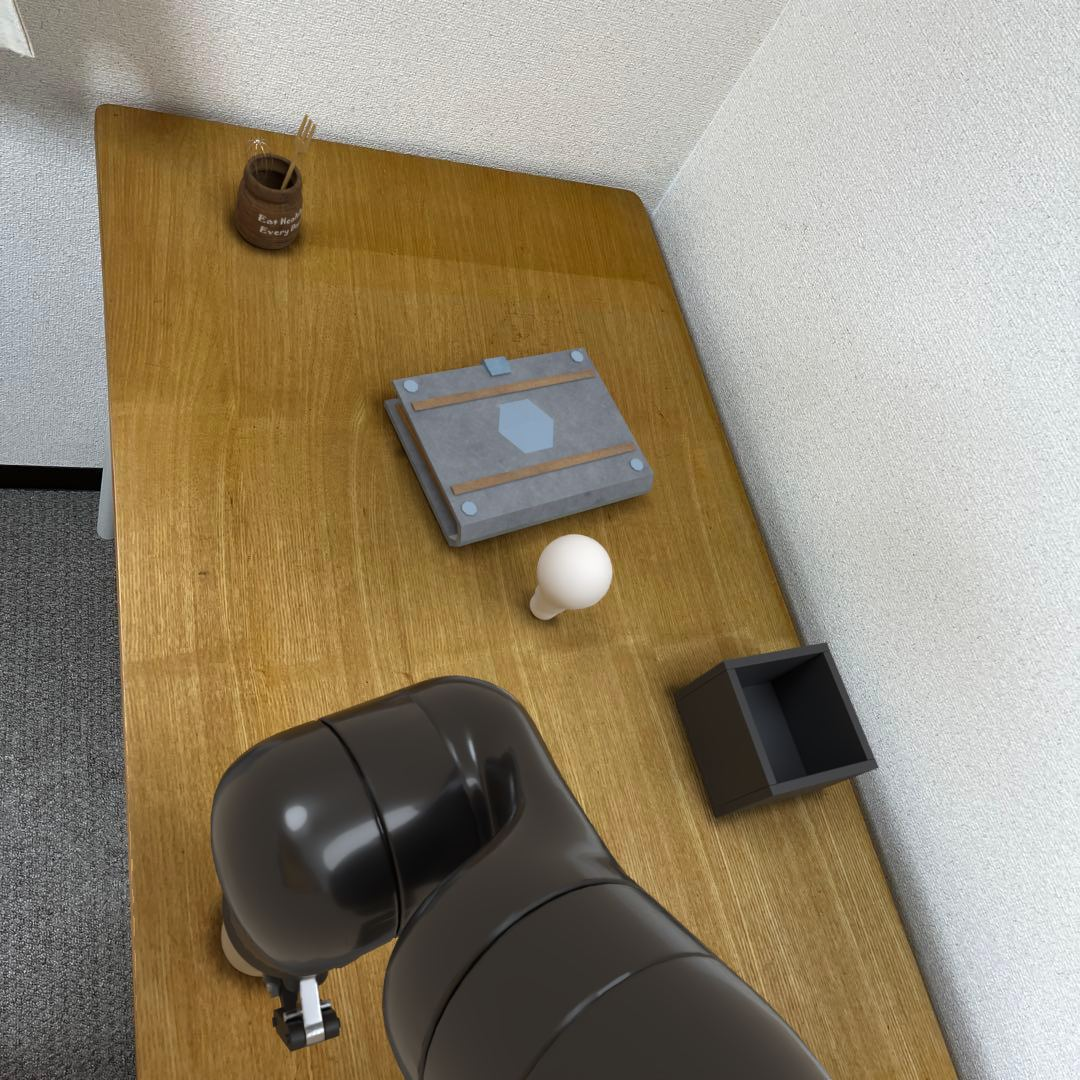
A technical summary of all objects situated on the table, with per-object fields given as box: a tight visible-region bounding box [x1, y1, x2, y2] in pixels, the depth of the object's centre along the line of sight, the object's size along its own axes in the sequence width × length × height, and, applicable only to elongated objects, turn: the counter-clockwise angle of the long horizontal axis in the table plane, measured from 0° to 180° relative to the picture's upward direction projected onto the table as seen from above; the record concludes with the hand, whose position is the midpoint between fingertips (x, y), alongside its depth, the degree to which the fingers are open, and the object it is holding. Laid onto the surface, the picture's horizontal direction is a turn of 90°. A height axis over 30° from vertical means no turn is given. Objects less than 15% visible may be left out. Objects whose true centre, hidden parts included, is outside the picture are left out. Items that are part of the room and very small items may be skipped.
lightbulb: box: [529, 533, 613, 621], centre depth 75 cm, size 6×6×11 cm
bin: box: [673, 641, 880, 819], centre depth 77 cm, size 11×11×9 cm
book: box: [383, 347, 655, 548], centre depth 84 cm, size 21×16×5 cm
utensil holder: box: [235, 113, 317, 250], centre depth 83 cm, size 6×6×12 cm
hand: (273, 922), depth 56 cm, fingers closed on candle, 5 cm apart
